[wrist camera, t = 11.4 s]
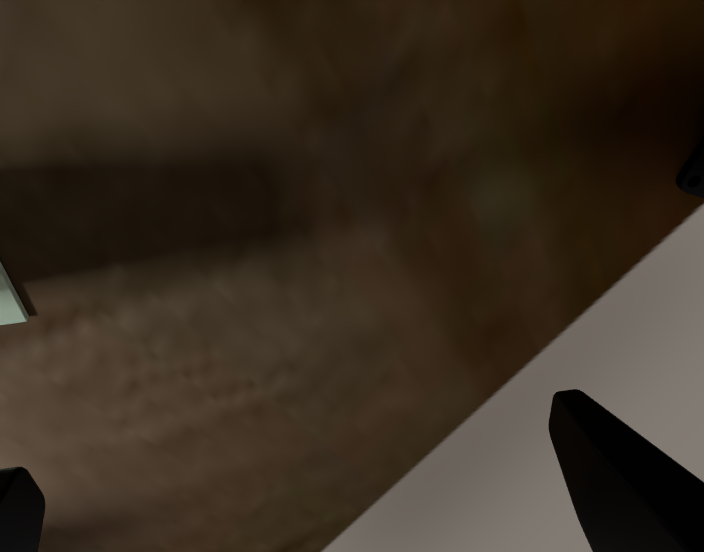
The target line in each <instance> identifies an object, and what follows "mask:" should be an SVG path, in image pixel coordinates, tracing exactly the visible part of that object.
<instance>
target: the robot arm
mask: <svg viewBox="0 0 704 552" xmlns="http://www.w3.org/2000/svg"><path fill="white" fill-rule="evenodd" d="M693 176H695V177H694V179H693V180H692V181H691V182H689V183H688V181H689V179H690V178H691V177H693ZM676 184H677V186H678V187H679V188H680V189H682V190H683V191H684V192H686V193H689V194H692V195H695V196H699V197H702V198H704V136H703V138H702V139H701V141H700V142H699V144H698V145H697V147H696V148H695V150H694V151H693V153H692V154H691V156H690V157H689V159H688V160H687V162H686V163H685V165H684V166H683V168H682V169H681V171H680V172H679V174H678V175H677V178H676ZM549 433H550V437H551V440H552V443H553V446H554V449H555V452H556V455H557V458H558V461H559V464H560V467H561V470H562V473H563V476H564V479H565V482H566V485H567V487H568V491H569V494H570V497H571V500H572V503H573V506H574V508H575V511H576V514H577V517H578V520H579V522H580V524H581V527H582V529H583V531H584V533H585V536H586V538H587V540H588V542H589V544H590V547H591V549H592V551H593V552H704V482H703V481H701V480H700V479H699V478H697V477H696V476H695V475H693V474H692V473H691V472H689V471H688V470H687V469H685V468H684V467H682V466H681V465H680V464H678V463H677V462H676V461H674V460H673V459H672V458H671V457H669V456H668V455H666V454H665V453H664V452H662V451H661V450H660V449H659V448H657V447H656V446H655V445H653V444H652V443H650V442H649V441H648V440H647V439H645V438H644V437H642V436H641V435H640V434H638V433H637V432H636V431H634V430H633V429H632V428H630V427H629V426H628V425H626V424H625V423H624V422H622V421H621V420H620V419H618V418H617V417H616V416H614V415H613V414H612V413H610V412H609V411H608V410H606V409H605V408H604V407H602V406H601V405H599V404H598V403H597V402H596V401H594V400H593V399H591V398H590V397H589V396H588V395H586V394H585V393H584V392H582V391H580V390H577V389H573V390H566V391H559V392H556V393H555V394H554V396H553V400H552V406H551V413H550V418H549ZM44 512H45V499H44V495H43V493H42V492H41V490H40V489H39V487H38V486H37V484H36V483H35V481H34V479H33V478H32V476H31V475H30V473H29V472H28V471H27V469H25V468H23V467H13V468H6V469H0V552H38V547H39V542H40V536H41V530H42V524H43V518H44Z"/></svg>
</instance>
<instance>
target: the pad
mask: <svg viewBox="0 0 704 552" xmlns="http://www.w3.org/2000/svg"><path fill="white" fill-rule="evenodd" d="M28 318H29V316H28V314H27V312H26V310H25V308H24V306H23V304H22V302H21V300H20V298H19V296H18V294H17V293H16V291H15V289H14V287H13V285H12V283H11V281H10V279H9V277H8V275H7V273H6V271H5V269H4V268H3V266H2V264H1V262H0V325H4V324H11V323H19V322H27V320H28Z"/></svg>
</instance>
